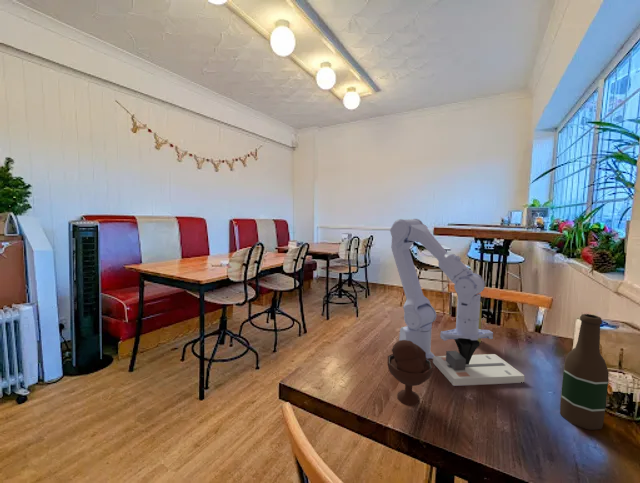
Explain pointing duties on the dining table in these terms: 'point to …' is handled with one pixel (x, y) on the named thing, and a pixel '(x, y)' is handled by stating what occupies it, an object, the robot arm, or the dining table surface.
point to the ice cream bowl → (409, 369)
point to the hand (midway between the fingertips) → (464, 362)
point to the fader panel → (480, 371)
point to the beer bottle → (585, 378)
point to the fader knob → (455, 360)
